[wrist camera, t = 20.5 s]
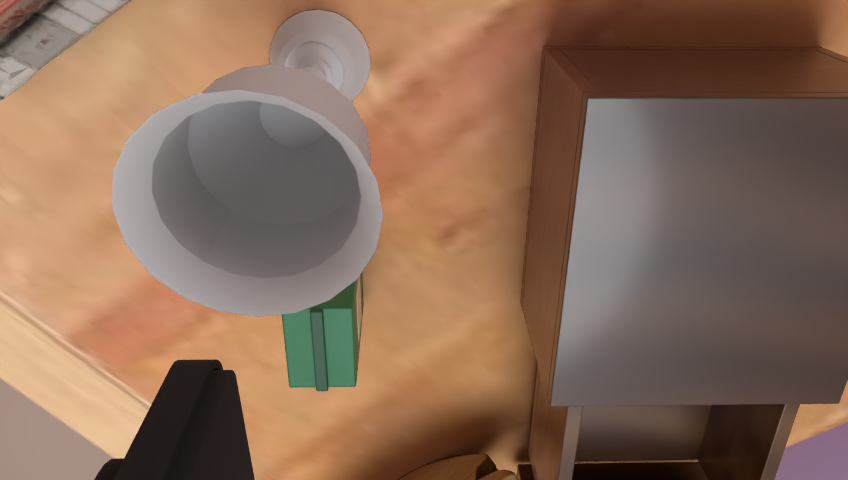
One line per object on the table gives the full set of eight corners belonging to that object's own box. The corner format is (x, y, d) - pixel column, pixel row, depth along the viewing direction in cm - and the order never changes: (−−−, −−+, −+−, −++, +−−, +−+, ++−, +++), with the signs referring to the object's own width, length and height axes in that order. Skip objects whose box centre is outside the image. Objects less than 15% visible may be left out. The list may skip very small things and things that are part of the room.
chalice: (393, -7, 33) (384, 94, 17) (391, 128, 36) (381, 319, 20) (241, -13, 33) (89, 84, 17) (252, 124, 36) (131, 314, 20)
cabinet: (752, 301, 42) (839, 404, 34) (520, 303, 42) (549, 407, 33) (822, 47, 35) (953, 97, 27) (542, 46, 35) (587, 96, 26)
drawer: (691, 521, 50) (737, 622, 43) (511, 524, 49) (528, 626, 43) (752, 298, 41) (822, 381, 34) (533, 300, 41) (559, 384, 34)
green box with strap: (300, 236, 39) (278, 312, 32) (361, 236, 39) (352, 311, 32) (306, 307, 41) (287, 392, 34) (364, 306, 41) (356, 391, 35)
